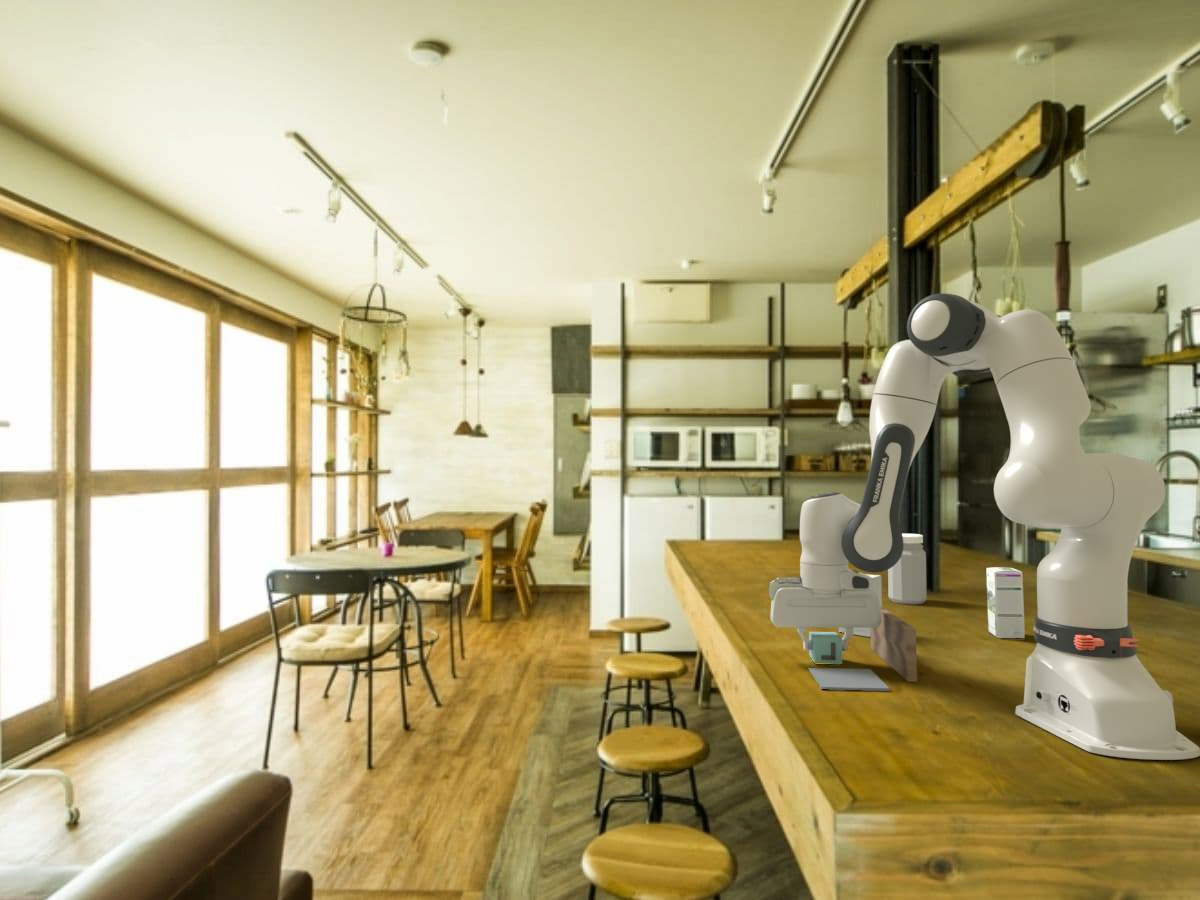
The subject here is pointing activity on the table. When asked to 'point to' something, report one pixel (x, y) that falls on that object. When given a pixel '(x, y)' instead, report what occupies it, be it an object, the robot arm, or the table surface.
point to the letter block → (826, 647)
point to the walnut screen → (896, 644)
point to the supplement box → (878, 591)
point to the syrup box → (1005, 602)
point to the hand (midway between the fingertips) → (825, 650)
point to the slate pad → (848, 679)
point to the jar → (909, 573)
